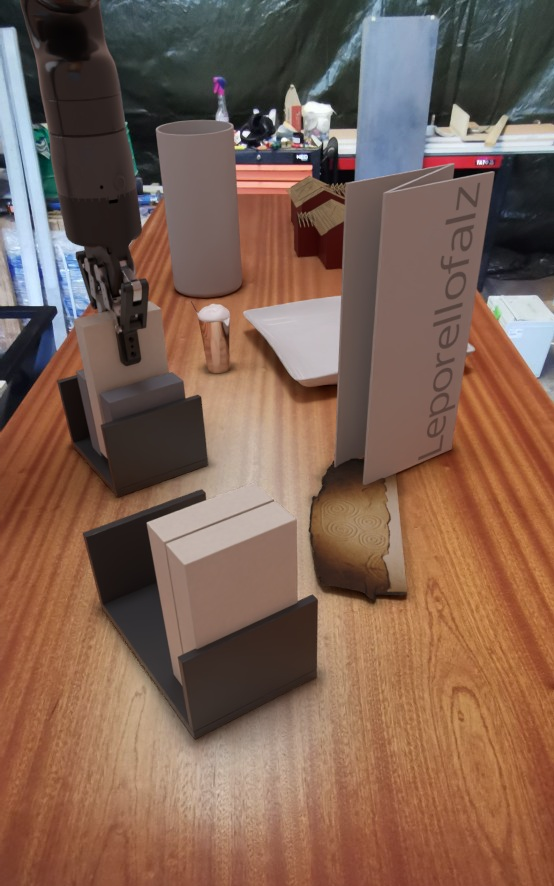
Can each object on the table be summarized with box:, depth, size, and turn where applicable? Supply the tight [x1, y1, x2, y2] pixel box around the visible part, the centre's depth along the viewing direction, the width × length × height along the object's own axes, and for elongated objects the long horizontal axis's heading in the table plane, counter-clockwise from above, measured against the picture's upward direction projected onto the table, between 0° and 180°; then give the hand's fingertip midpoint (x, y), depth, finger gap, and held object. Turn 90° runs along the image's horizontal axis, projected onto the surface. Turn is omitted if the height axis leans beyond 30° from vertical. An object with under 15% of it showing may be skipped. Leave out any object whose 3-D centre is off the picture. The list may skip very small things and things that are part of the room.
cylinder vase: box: [155, 119, 243, 299], centre depth 127 cm, size 12×12×25 cm
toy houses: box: [285, 175, 347, 270], centre depth 146 cm, size 45×20×10 cm, turn 9°
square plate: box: [242, 295, 476, 388], centre depth 112 cm, size 27×27×4 cm
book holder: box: [82, 481, 319, 740], centre depth 62 cm, size 12×19×17 cm, turn 33°
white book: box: [73, 300, 170, 458], centre depth 84 cm, size 9×3×16 cm, turn 123°
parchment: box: [308, 458, 408, 601], centre depth 79 cm, size 25×10×1 cm, turn 176°
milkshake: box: [190, 300, 231, 374], centre depth 106 cm, size 4×5×10 cm
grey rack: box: [56, 368, 209, 498], centre depth 88 cm, size 12×14×11 cm
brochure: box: [333, 162, 496, 485], centre depth 79 cm, size 14×6×30 cm, turn 126°
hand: (124, 357), depth 82 cm, fingers closed on white book, 3 cm apart
